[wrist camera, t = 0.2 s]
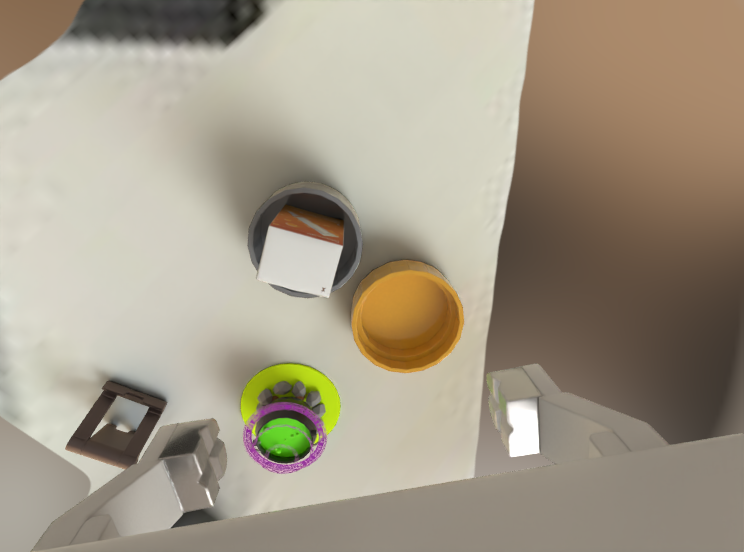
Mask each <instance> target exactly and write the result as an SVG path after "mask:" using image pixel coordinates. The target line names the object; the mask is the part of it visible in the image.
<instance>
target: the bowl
mask: <svg viewBox="0 0 744 552" xmlns="http://www.w3.org/2000/svg"><path fill="white" fill-rule="evenodd" d="M351 324H352V330H353V336H354V340H355V342H356V344H357V346H358V348H359V349H360V351H361V353H362V354H363V355H364V356H365V357H366V358H367V359H368V360H370V361H371V362H372V363H373V364H374V365H376V366H379V367H381V368H383V369H386V370H388V371H391V372H400V373H411V372H417V371H423V370H425V369H427V368H430V367H432V366H434V365H436V364H438V363H440V362H441V361H442V360H443V359H444V358H445V357H446V356H448V355H449V354H450V353H451V352H452V350H453V349H454V347H455V346H456V344H457V343H458V341H459V339H460V337H461V333H462V329H463V325H464V315H463V307H462V304H461V302H460V300H459V298H458V295H457V293H456V291H455V290H454V288H453V287H452V285H451V284H450V282H449V281H448V280H447V279H446V278H445V277H444V276H443V275H442V274H441V273H440V272H439V271H438V270H437V269H436V268H434V267H432V266H430V265H427V264H425V263H423V262H419V261H412V260H400V261H394V262H389V263H386V264H384V265H382V266H380V267H378V268H376V269H374V270H373V271H372V272H371V273H370V274H369V275H368V276H366V277H365V278H364V279H363V280H362V281H361V283H360V285H359V286H358V288H357V290H356V292H355V294H354V296H353V302H352V308H351Z"/></svg>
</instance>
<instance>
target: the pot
mask: <svg viewBox="0 0 744 552" xmlns="http://www.w3.org/2000/svg"><path fill="white" fill-rule="evenodd" d="M284 205H289V206H293V207H296V208H300V209H303V210H306V211H310V212H313V213H317V214H321V215H324V216H328V217H332V218H336V219H340V220H344V241H343V248H342V252H341V255H340V259H339V263H338V266H337V270H336V274H335V277H334V281H333V285H332V288H331V292H333V291H335V290H337V289H339V288H341V287H342V286H343V285H344V284H345V283H346V282H347V281H348V280H349V279H350V278H351V277H352V276H353V274H354V272H355V270H356V268H357V266H358V265H359V263H360V259H361V253H362V247H363V242H362V235H361V229H360V223H359V218H358V216H357V214H356V212H355V210H354V208H353V206H352V204H351V203H350V202H349V201H348V200H347V199H346V198H345V196H343V195H342V194H341V193H340V192H339V191H337V190H335V189H334V188H332V187H330V186H327V185H325V184H322V183H317V182H309V181H305V182H297V183H292V184H289V185H287V186H285V187H283V188H281V189H279V190H277V191H276V192H274V194H273V195H272V196H271V197H270V198H269V199H268V200H267V201H266V202H265V203H264V204H263V205H262V206H261V207H260V208H259V209H258V210H257V212H256V213H255V216H254V218H253V220H252V222H251V225H250V227H249V234H248V249H249V253H250V257H251V261H252V264H253V265H254V267H255V268H256V270H257V272H258V268H259V264H260V260H261V256H262V252H263V248H264V244H265V240H266V235H267V231H268V227H269V225H270V224H271V223H272V221H273V220H274V218H275V217H276V216H277V214H278V213H279V212H280V210H281V209H282V208H283V207H284ZM268 284H269V285H271V286H272V287H273V288H274V289H276V290H278V291H280V292H283V293H285V294H287V295H289V296H294V297H302V298H313V297H319V296H318V295H313V294H309V293H305V292H299V291H295V290H291V289H288V288H285V287H281V286H277V285H273V284H270V283H268ZM331 292H330V293H331Z"/></svg>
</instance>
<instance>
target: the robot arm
mask: <svg viewBox="0 0 744 552" xmlns="http://www.w3.org/2000/svg"><path fill="white" fill-rule="evenodd" d="M487 386H488V388H489V389H490V392H491V395H490V396H489V398H488V401H489V409H490V414H491V418H492V421H493V424H494V426H495V428H496V430H497V431H499V432H501V438H502V442H503V444H504V446H505V448H506V450H507V452H508V454H509V456H510V457H514V456H521V455H528V454H535V453H540V454H541V455H543V456H544V457H545V458H547V459H548V460H550V461H551V462H553V463H554V465H549V466H542V467H537V468H530V469H524V470H518V471H512V472H507V473H500V474H495V475H488V476H482V477H476V478H470V479H464V480H459V481H453V482H447V483H441V484H435V485H429V486H423V487H417V488H411V489H405V490H399V491H393V492H387V493H381V494H375V495H369V496H363V497H357V498H351V499H345V500H339V501H333V502H327V503H321V504H315V505H309V506H303V507H297V508H291V509H285V510H279V511H273V512H267V513H261V514H255V515H249V516H243V517H237V518H231V519H225V520H219V521H213V522H207V523H202V524H196V525H190V526H184V527H178V528H172V529H170V528H171V527H172V526H173V525H174V523H175V522H176V521H177V520H178V519H179V518H180V517H181V516H182V515H183V512H188V511H193V510H198V509H203V508H208V507H213V506H214V503H215V500H216V497H217V494H218V491H219V489H220V487H219V484H218V481H219V480H220V479H221V478H222V477H223V476H224V474H225V470H226V465H227V454H226V448H225V445H224V442H223V441H221V440H220V439H219V438H217V435H218V433H219V430H220V429H219V427H218V424H217V421H216V420H215V419H213V418H211V419H204V420H197V421H190V422H183V423H176V424H170V425H165V426H162V427H160V428H159V430H158V432H157V433H156V435H155V437H154V438H153V440H152V442H151V443H150V445H149V446H148V448H147V450H146V451H145V453H144V455H143V456H142V458H141V460H140V461H139V463H138V464H133V465H131V466H130V467H129V468H127V469H126V470H124V471H123V472H122V473H120V474H119V475H117V476H116V477H115V478H113V479H112V480H110V481H109V482H108V483H106V484H105V485H103V486H102V487H101V488H99V489H98V490H97V491H95V492H94V493H92V494H91V495H90V496H88V497H87V498H85V499H84V500H83V501H81V502H80V503H79V504H77V505H76V506H74V507H73V508H72V509H70V510H69V511H67V512H66V513H65V514H63V515H62V516H60V517H59V518H57V519H56V520H55V521H53V522H52V523H51V525H50V526H49V527H48V529H47V530H46V531H45V533H44V534H43V535H42V537H41V538H40V539H39V541H38V542H37V543H36V545H35V546H34V548H33V549H32V550H31V552H744V433H740V434H734V435H728V436H722V437H716V438H710V439H705V440H698V441H692V442H687V443H680V444H674V445H669V444H668V443H667V442H666V441H665V440H664V439H663V438H662V437H661V436H660V435H659V434H658V433H657V432H656V431H655V430H654V429H653V428H652V427H651V426H650V425H649V424H648V423H646V422H643V421H640V420H638V419H635V418H633V417H630V416H628V415H625V414H622V413H620V412H617V411H615V410H612V409H609V408H607V407H604V406H602V405H599V404H596V403H594V402H591V401H589V400H586V399H583V398H581V397H578V396H576V395H573V394H571V393H568V392H566V393H562V392H561V390H560V389H559V388H558V387H557V386H556V384H555V383H554V382H553V381H552V379H551V378H550V377H549V376H548V375H547V373H546V372H545V371H544V370H543V369H542V368H541V366H540V365H539V364H531V365H527V366H522V367H517V368H512V369H507V370H501V371H496V372H491V373H487Z"/></svg>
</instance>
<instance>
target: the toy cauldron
mask: <svg viewBox="0 0 744 552" xmlns="http://www.w3.org/2000/svg"><path fill="white" fill-rule="evenodd" d="M241 413H242V417H243V420H244V422H245V424H246V425H245V426H246V427H247V429H246V427H244V428H245V430H246V438H247V439H248V440H247V439H246V442H245V441H244V440H245V432H244V431H243V435H244V436H243V441H244V445H246V443H248V444H247V445H246V447H247V446H248V448H249V450H250V452H251V453H252V452H253V456H254V457H255V458H254V457H253V456H251V455H252V454H251V453H250V452H248V453H250V454H251V455H250V456H251V457H252V458H253V459H254V460H255V461H257V462H258V463H260V464H261V465H263V468H264V467H266V465H267V467H266V468H267V469H268V468H270V469H271V467H273V468H272V470H273V471H275V470H278V471H275V473H276V472H277V473H279V472H280V471H281V470H283V469H288V470H287V472H289V469H290V470H291V469H292V472H293V471H294V472H295V470H296V471H297V469H298V470H300V468H298V467H299V466H300V467H301V469H302V468H303V467H304V468H305V466H306V467H307V464H308V463H309V464H308V466H309V465H311V464H312V462H313V460H314V459H315V458H316V457H317V456H318V455H320V454H321V453H320V452H322V451H324V450H323V449H322V447H323V444H324V442H323V441H324V439H325V443H326V442H327V435H328V434H329V433H330V432H331V431H332V429H333V428H334V426H335V425H336V423H337V420H338V418H339V414H340V398H339V395H338V392H337V390H336V388H335V386H334V385H333V383H332V382H331V381H330V380H329V379H328V378H327V377H326V376H325V375H324V374H322V373H321V372H319V371H318V370H316V369H313V368H311V367H309V366H305V365H301V364H293V363H287V364H278V365H274V366H271V367H268V368H266V369H264V370H262V371H260V372H259V373H258V374H256V375H255V376H254V377H253V378H252V379H251V380H250V381H249V382H248V383H247V385H246V387H245V389H244V391H243V394H242V397H241ZM248 429H249V430H248ZM248 432H249V433H248ZM247 433H248V434H250V435H248V436H247ZM251 433H253V434H254V435H255V436H256V439H255V440H253V442H252V439H251ZM249 438H250V439H249ZM249 440H251V443H250V442H248V441H249ZM316 442H317V443H316ZM322 442H323V443H322ZM249 443H250V444H249ZM314 443H315V444H314ZM316 445H317V448H316V450H315V451H314V453H312V454H311V453H310V457H311V458H312V459H309V458H310V457H309V458H307V459H306V461H307V462H305V460H304V461H302V462H301V461H300V462H299V463H298V462H297V463H296V464H291V465H289V466H291V468H290V467H289V466H288V465H281V464H277V466H279V465H280V466H279V467H277V466H276V463H272V462H270V461H268V459H269V460H272V461H274V462H277V463H292V462H294V463H295V462H296V461H298V460H300V459H302V458H304V457H305V456H306V455H307V454H308V453H309V452H310V450H311V451H312V452H313V450H312V447H314V446H316ZM318 445H319V446H320V447H319V446H318ZM254 446H257V447H258V449H259V450H257V449H255V448H254ZM324 446H326V445H325V444H324ZM244 448H245V447H244ZM248 448H247V449H248ZM320 448H321V449H320ZM323 448H324V447H323ZM247 449H246V450H247ZM318 449H319V450H318ZM324 449H325V448H324ZM249 450H248V451H249ZM321 450H322V451H321ZM317 451H318V452H317ZM319 451H320V452H319ZM246 452H247V451H246ZM258 452H260V453H262V455H264V456H265V457H266V458H267V460H266V458H265V457H264V458H263V457H262V456H260V455H259V454H258ZM316 452H317V453H316ZM318 453H320V454H318ZM322 453H323V452H322ZM313 454H318V455H315V456H316V457H315V456H314V455H313ZM248 455H249V454H248ZM255 455H256V456H255ZM258 455H259V456H258ZM257 456H258V458H257ZM320 456H321V455H320ZM320 456H318V457H320ZM259 457H261V458H263V459H264V460H266V461H268V462H266V461H264V460H263V461H262V459H261V458H260V459H261V460H259ZM318 457H317V458H318ZM317 458H316V459H317ZM308 459H309V460H308ZM316 459H315V460H314V462H315V461H316ZM258 460H259V461H258ZM310 461H312V462H311V463H310ZM257 462H256V463H257ZM261 462H262V463H264V464H265V466H264V464H262V463H261ZM300 463H301V465H302V464H303V466H301V465H299V466H298V464H300ZM260 464H259V465H260ZM268 464H269V465H268ZM270 464H271V465H270ZM272 464H273V465H272ZM274 465H275V466H276V468H278V469H275V467H274ZM296 465H297V466H296ZM268 466H270V467H268ZM286 466H287V467H286ZM292 466H293V467H294V468H296V467H297V469H294V468H293V467H292ZM295 466H296V467H295ZM267 469H266V470H267ZM268 470H269V469H268ZM269 471H270V470H269ZM271 472H272V471H271ZM284 472H285V470H284V471H283V472H281V474H285V473H284ZM292 472H290V473H292Z"/></svg>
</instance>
